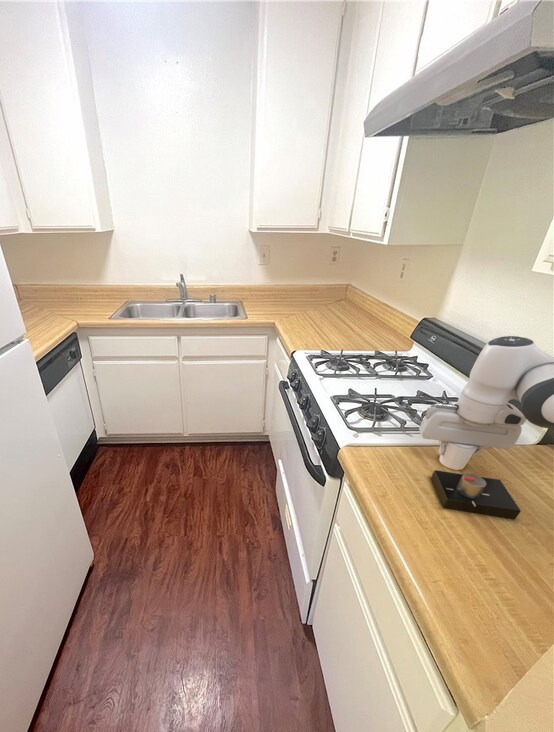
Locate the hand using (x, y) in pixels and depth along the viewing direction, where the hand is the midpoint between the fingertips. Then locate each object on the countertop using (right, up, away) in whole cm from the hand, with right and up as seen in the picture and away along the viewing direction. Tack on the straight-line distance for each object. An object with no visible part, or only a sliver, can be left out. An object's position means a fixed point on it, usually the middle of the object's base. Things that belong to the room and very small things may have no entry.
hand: (455, 455), depth 87 cm
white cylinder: (0, -2, +2) cm, 3 cm away
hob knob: (-5, -7, -12) cm, 15 cm away
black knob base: (-3, -9, -9) cm, 13 cm away
